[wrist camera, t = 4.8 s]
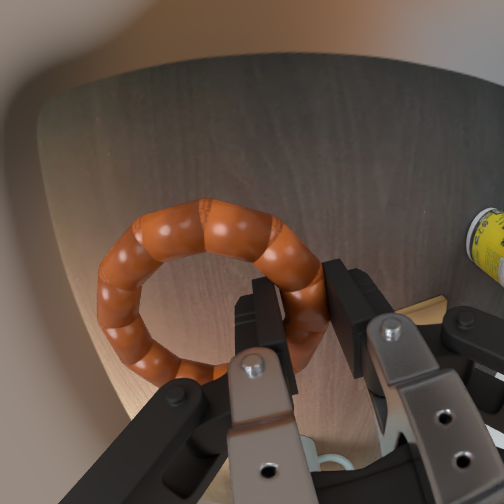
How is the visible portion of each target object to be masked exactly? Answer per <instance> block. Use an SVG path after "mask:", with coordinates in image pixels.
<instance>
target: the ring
mask: <svg viewBox="0 0 504 504" xmlns="http://www.w3.org/2000/svg"><path fill="white" fill-rule="evenodd" d="M203 252H210V253H214V254H218V255H222V256H226V257H230V258H234V259H238V260H242V261H246V262H250V263H252V264H253V265H254V266H255V267H256V268H257V269H259V270H260V271H261V272H262V273H263V274H264V275H265V276H266V277H267V278H268V279H269V280H271V281H272V282H273V283H274V284H275V285H276V286H277V287H278V288H279V290H280V295H281V299H282V303H283V308H284V312H285V318H284V320H283V325H284V329H285V334H286V338H287V343H288V347H289V352H290V357H291V361H292V366H293V370H294V375H295V374H297V373H298V372H300V371H301V370H303V369H304V368H305V367H306V366H307V364H308V363H309V361H310V359H311V358H312V356H313V354H314V352H315V350H316V349H317V347H318V345H319V343H320V341H321V339H322V337H323V336H324V334H325V332H326V330H327V328H328V326H329V323H330V313H329V305H328V297H327V289H326V282H325V275H324V270H323V266H322V263H321V262H320V261H319V259H318V258H317V257H316V256H315V255H314V254H313V253H312V252H311V251H310V250H309V249H308V247H307V246H306V245H305V244H304V243H303V242H302V241H301V240H300V239H299V238H298V237H297V236H296V235H295V234H294V233H293V232H292V231H291V230H290V228H289V227H288V226H287V225H286V224H285V223H284V222H283V221H282V220H281V219H279V218H278V217H276V216H274V215H271V214H268V213H264V212H261V211H257V210H253V209H250V208H246V207H242V206H239V205H235V204H231V203H227V202H223V201H220V200H216V199H211V198H203V199H198V200H194V201H191V202H187V203H183V204H180V205H176V206H173V207H169V208H166V209H162V210H159V211H155V212H152V213H148V214H145V215H142V216H140V217H139V218H138V219H136V220H135V221H134V222H133V223H132V224H131V226H130V227H129V228H128V229H127V230H126V232H125V233H124V234H123V235H122V236H121V238H120V239H119V240H118V241H117V242H116V244H115V245H114V246H113V247H112V249H111V250H110V251H109V252H108V254H107V255H106V256H105V257H104V259H103V260H102V262H101V264H100V266H99V270H98V288H97V319H98V323H99V325H100V327H101V328H102V330H103V332H104V334H105V335H106V337H107V339H108V340H109V342H110V344H111V345H112V347H113V349H114V350H115V352H116V354H117V355H118V357H119V358H120V360H121V361H122V363H123V364H124V365H125V366H126V367H128V368H129V369H131V370H132V371H134V372H135V373H136V374H138V375H139V376H141V377H143V378H144V379H146V380H147V381H149V382H150V383H152V384H153V385H155V386H157V387H158V388H160V387H161V386H163V385H164V384H165V383H167V382H169V381H171V380H174V379H177V378H190V379H193V380H195V381H197V382H198V383H199V384H200V386H201V385H203V384H206V383H208V382H211V381H213V380H215V379H217V378H219V377H221V376H222V375H224V374H225V373H226V372H227V369H228V364H229V363H225V364H220V365H210V364H205V363H200V362H196V361H191V360H187V359H182V358H179V357H178V356H176V355H175V354H173V353H172V352H170V351H169V350H167V349H166V348H165V347H163V346H162V345H160V344H159V343H158V342H156V341H155V340H154V339H152V337H151V335H150V333H149V332H148V330H147V328H146V326H145V324H144V322H143V320H142V318H141V316H140V314H139V305H140V297H141V289H142V285H143V284H144V283H145V282H146V281H147V279H148V278H149V277H150V276H151V275H152V274H153V273H154V272H155V271H156V270H157V269H158V268H159V267H160V266H161V265H162V264H163V263H164V262H166V261H170V260H174V259H178V258H183V257H187V256H191V255H195V254H199V253H203Z"/></svg>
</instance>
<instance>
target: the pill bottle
mask: <svg viewBox="0 0 504 504" xmlns="http://www.w3.org/2000/svg"><path fill="white" fill-rule="evenodd" d="M466 249H467V254H468V256H469V258H470V259H471V261H472V262H474V263H475V264H476V265H477V266H478V267H480V268H481V269H482V270H483V271H484V272H486V273H487V274H488V275H489V276H491V277H492V278H493V279H494V280H496V281H497V282H498V283H499V284H500V285H502V286H503V287H504V212H503V211H501V210H498V209H496V208H488V209H485V210H483V211H481V212H480V213H479V214H478V215H477V216H476V217H475V218H474V220H473V222H472V223H471V226H470V228H469V231H468V234H467V240H466Z"/></svg>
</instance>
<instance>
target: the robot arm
mask: <svg viewBox="0 0 504 504" xmlns="http://www.w3.org/2000/svg"><path fill="white" fill-rule="evenodd" d="M322 266H323V270H324V275H325V282H326V289H327V297H328V305H329V313H330V321H331V323H332V326H333V328H334V330H335V333H336V335H337V338H338V340H339V342H340V345H341V347H342V350H343V352H344V355H345V357H346V360H347V362H348V365H349V367H350V370H351V372H352V375H353V377H354V379H356V378H359V377H364V379H365V382H366V395H367V398H368V402H369V405H370V408H371V412H372V415H373V418H374V422H375V425H376V429H377V432H378V436H379V440H380V445H381V458H380V459H379V460H377V461H375V462H374V463H372V464H370V465H368V466H367V467H365V468H362V469H357V470H342V471H313V472H310V470H309V466H308V463H307V459H306V455H305V452H304V448H303V445H302V441H301V437H300V434H299V430H298V426H297V423H296V419H295V416H294V404H293V399H292V395H295V394H298V389H297V385H296V380H295V375H294V370H293V366H292V361H291V357H290V352H289V347H288V343H287V338H286V334H285V329H284V325H283V320H282V316H281V312H280V307H279V303H278V299H277V295H276V291H275V286H274V283H273V282H272V281H271V280H269V279H268V278H267V277H261V278H257V279H253V280H252V287H253V294H250V295H245V296H241V297H240V298H239V300H238V301H237V303H236V305H235V356H234V357H233V358H232V359H231V361H230V362H229V364H228V369H227V372H226V373H225V374H224V375H222V376H221V377H219V378H217V379H215V380H213V381H211V382H208V383H206V384H203V385H201V386H200V384H199V383H198V382H197V381H195V380H193V379H190V378H177V379H174V380H171V381H169V382H167V383H165V384H164V385H163V386H161V387H160V388H159V390H158V391H157V392H156V393H155V394H154V395H153V397H152V398H151V399H150V400H149V401H148V402H147V404H146V405H145V406H144V407H143V408H142V409H141V410H140V412H139V413H138V414H137V415H136V416H135V417H134V419H133V420H132V421H131V422H130V423H129V425H128V426H127V427H126V428H125V429H124V430H123V431H122V432H121V434H120V435H119V436H118V437H117V438H116V439H115V440H114V442H113V443H112V444H111V445H110V446H109V447H108V448H107V450H106V451H105V452H104V453H103V454H102V455H101V457H100V458H99V459H98V460H97V461H96V462H95V463H94V464H93V466H92V467H91V468H90V469H89V470H88V471H87V472H86V473H85V474H84V476H83V477H82V478H81V479H80V480H79V481H78V482H77V483H76V485H75V486H74V487H73V488H72V489H71V490H70V491H69V492H68V494H67V495H66V496H65V497H64V498H63V499H62V500H61V501H60V502H59V503H58V504H196V503H197V502H198V501H199V499H200V498H201V497H202V495H203V494H204V492H205V491H206V489H207V488H208V486H209V485H210V483H211V482H212V480H213V479H214V477H215V476H216V474H217V473H218V471H219V470H220V468H221V467H222V465H223V464H224V462H225V461H226V459H227V457H228V458H229V469H230V479H231V489H232V498H233V504H504V449H501V448H499V447H496V446H495V444H494V442H493V440H492V438H491V436H490V434H489V432H488V429H487V427H486V425H488V426H490V427H492V428H494V429H496V430H498V431H500V432H502V433H503V434H504V381H502V380H499V379H498V378H495V377H493V376H491V375H489V374H487V373H485V372H483V371H481V370H479V369H477V368H475V365H476V362H477V363H480V364H482V365H484V366H486V367H488V368H490V369H492V370H494V371H497V372H499V373H501V374H503V375H504V320H503V319H501V318H498V317H496V316H493V315H490V314H488V313H485V312H483V311H480V310H478V309H475V308H472V307H468V306H459V307H454V308H452V309H450V310H448V311H447V312H446V313H445V315H444V317H443V321H442V323H438V324H428V325H416V324H415V323H414V322H413V321H412V319H410V318H409V317H408V316H406V315H403V314H400V313H395V311H394V310H393V309H392V307H391V306H390V304H389V303H388V302H387V300H386V299H385V297H384V296H383V295H382V293H381V292H380V290H378V288H377V286H376V285H375V284H374V283H373V281H372V279H371V278H370V277H369V275H368V274H367V273H365V272H363V271H361V270H359V269H357V268H355V269H351V270H347V269H346V267H345V266H344V264H343V263H342V261H341V260H340V259H335V260H331V261H327V262H323V263H322ZM485 424H486V425H485Z"/></svg>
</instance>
